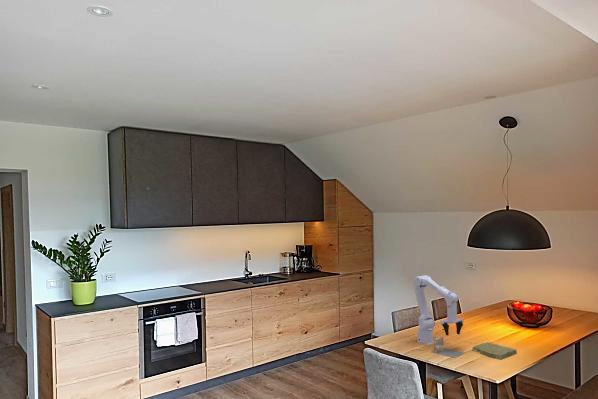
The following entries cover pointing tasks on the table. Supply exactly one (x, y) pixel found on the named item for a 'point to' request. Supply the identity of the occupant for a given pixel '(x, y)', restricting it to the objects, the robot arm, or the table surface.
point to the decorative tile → (494, 350)
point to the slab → (438, 344)
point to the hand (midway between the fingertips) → (452, 334)
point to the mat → (449, 353)
